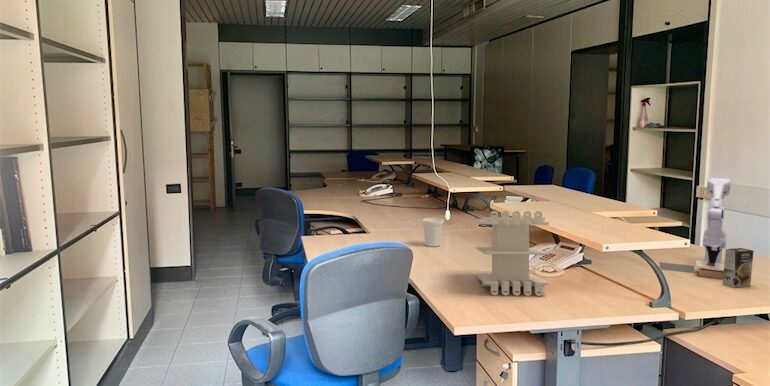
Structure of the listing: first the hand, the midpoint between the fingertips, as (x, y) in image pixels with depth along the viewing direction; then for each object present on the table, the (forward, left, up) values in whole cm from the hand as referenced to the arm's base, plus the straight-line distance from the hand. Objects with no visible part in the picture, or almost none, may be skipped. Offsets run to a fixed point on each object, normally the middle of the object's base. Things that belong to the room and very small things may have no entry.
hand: (711, 262), depth 257 cm
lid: (0, 0, -2) cm, 2 cm away
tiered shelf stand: (+55, -81, -7) cm, 98 cm away
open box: (0, 0, -6) cm, 6 cm away
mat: (-8, -14, -6) cm, 17 cm away
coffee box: (+12, +9, -7) cm, 16 cm away
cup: (-1, -140, -7) cm, 140 cm away
